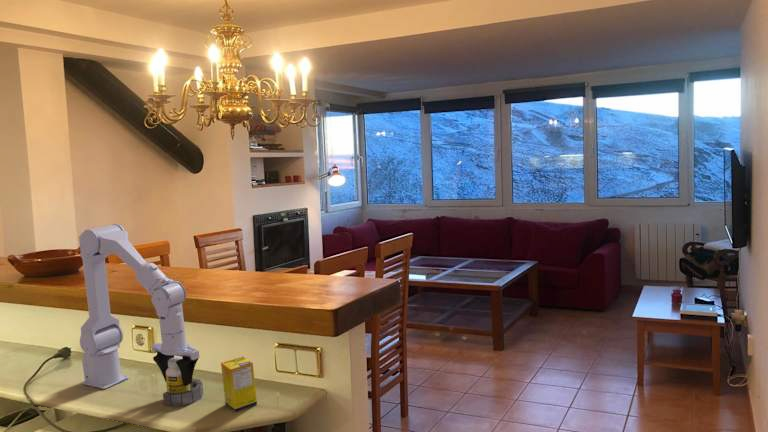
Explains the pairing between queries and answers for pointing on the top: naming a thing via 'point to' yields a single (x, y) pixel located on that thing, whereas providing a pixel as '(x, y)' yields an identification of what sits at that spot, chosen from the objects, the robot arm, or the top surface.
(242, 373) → the supplement box
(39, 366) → the top surface
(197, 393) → the steel horseshoe collar
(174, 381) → the supplement bottle
